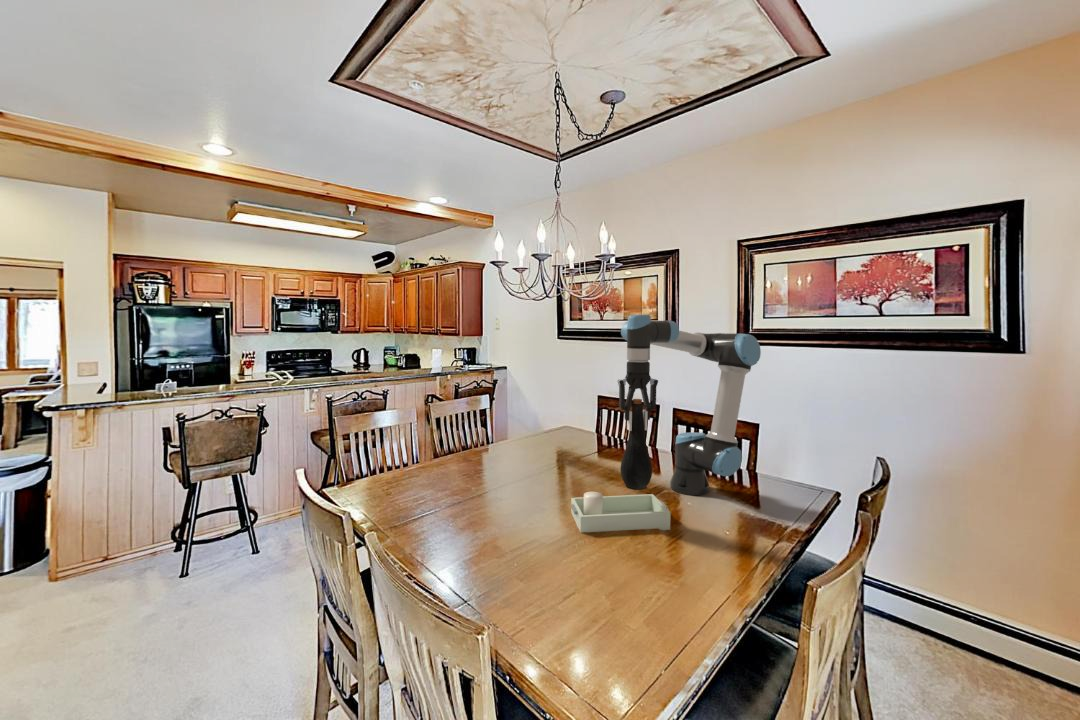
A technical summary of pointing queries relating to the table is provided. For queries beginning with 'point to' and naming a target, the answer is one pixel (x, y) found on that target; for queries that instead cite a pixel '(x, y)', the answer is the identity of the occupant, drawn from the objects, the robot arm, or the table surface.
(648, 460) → the bottle
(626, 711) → the table surface
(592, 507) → the cream capsule cylinder
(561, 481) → the table surface
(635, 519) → the tote
